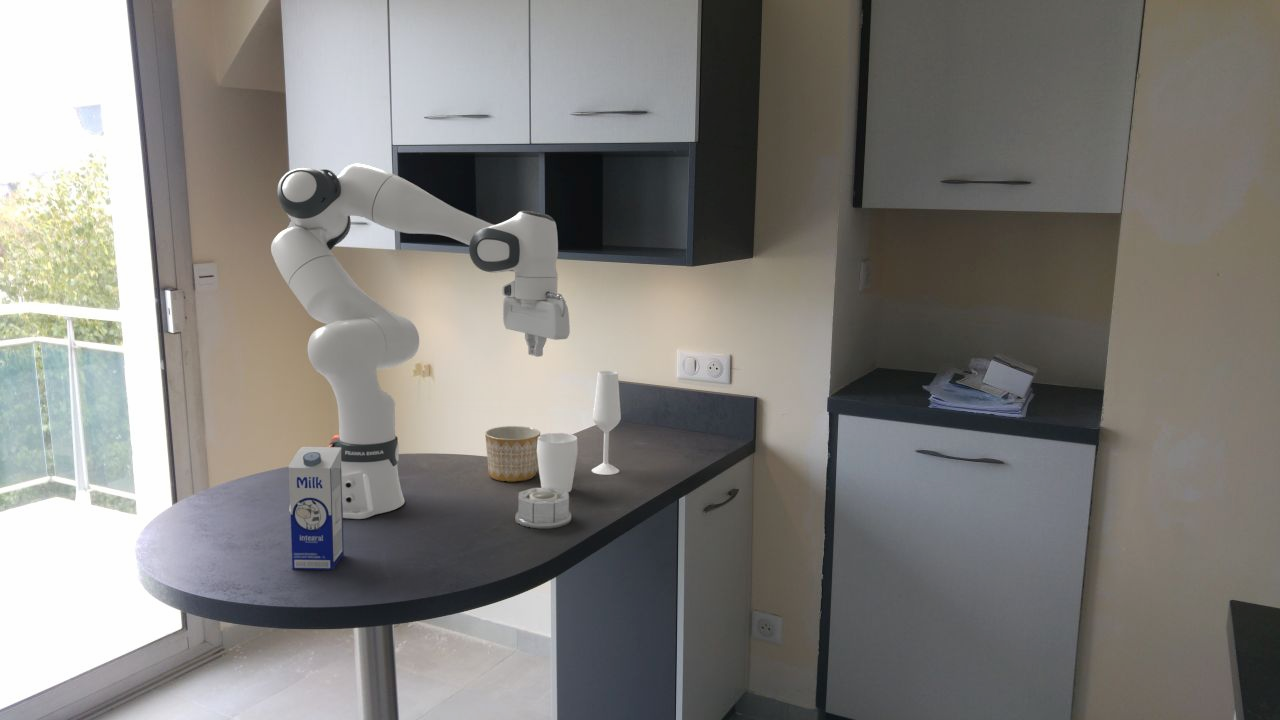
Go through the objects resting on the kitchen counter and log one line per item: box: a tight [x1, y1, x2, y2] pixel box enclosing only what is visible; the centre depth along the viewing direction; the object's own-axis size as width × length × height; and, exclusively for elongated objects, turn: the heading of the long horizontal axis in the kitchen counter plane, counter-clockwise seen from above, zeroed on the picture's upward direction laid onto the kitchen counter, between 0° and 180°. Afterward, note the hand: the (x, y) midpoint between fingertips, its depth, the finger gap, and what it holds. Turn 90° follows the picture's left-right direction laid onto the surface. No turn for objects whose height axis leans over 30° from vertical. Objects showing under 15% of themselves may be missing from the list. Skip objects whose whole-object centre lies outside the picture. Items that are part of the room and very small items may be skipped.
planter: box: [484, 425, 541, 483], centre depth 210 cm, size 13×13×10 cm
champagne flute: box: [591, 370, 622, 476], centre depth 215 cm, size 7×7×24 cm
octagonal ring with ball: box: [514, 487, 572, 530], centre depth 182 cm, size 11×11×5 cm
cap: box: [530, 491, 557, 501], centre depth 182 cm, size 6×6×4 cm
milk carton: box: [287, 446, 345, 571], centre depth 156 cm, size 7×7×20 cm
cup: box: [537, 432, 579, 493], centre depth 200 cm, size 9×9×12 cm
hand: (535, 355), depth 191 cm, fingers closed
